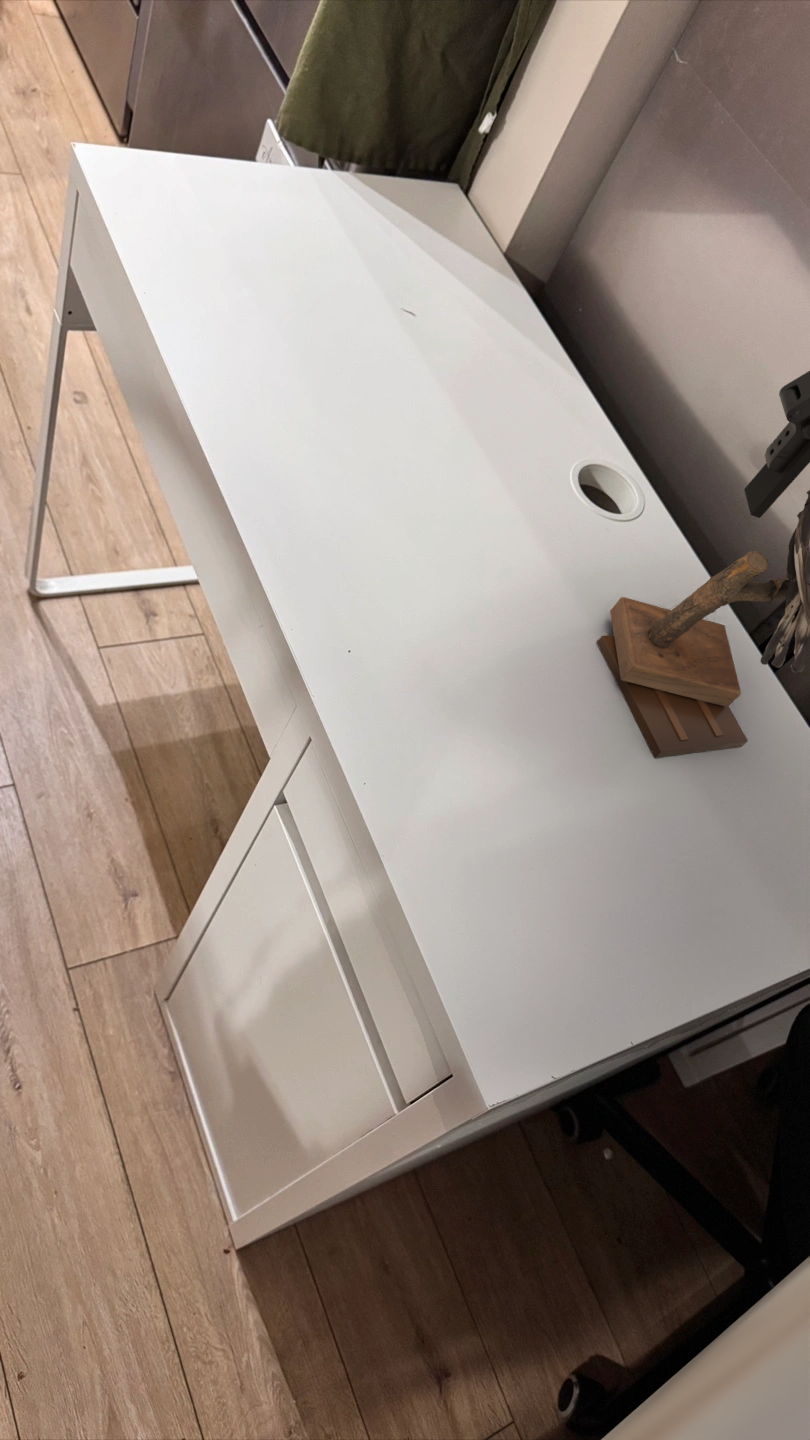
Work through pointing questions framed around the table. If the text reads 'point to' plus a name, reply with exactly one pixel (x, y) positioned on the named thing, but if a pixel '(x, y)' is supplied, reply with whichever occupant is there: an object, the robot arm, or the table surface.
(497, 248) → the table surface
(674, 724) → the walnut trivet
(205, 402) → the table surface
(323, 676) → the table surface
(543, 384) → the table surface
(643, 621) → the bird figurine
